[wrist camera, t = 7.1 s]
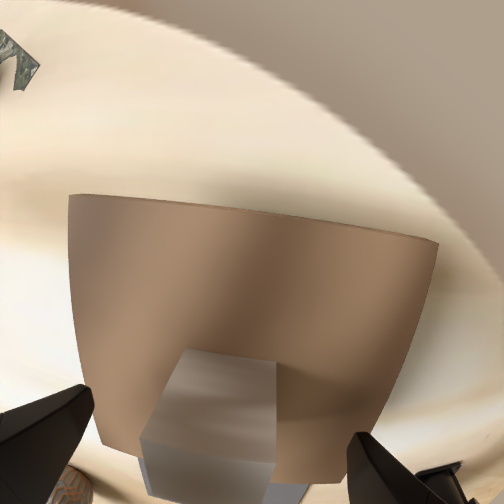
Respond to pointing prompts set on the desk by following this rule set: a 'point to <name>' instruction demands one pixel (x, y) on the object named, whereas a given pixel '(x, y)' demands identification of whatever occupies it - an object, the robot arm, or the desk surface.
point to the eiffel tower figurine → (4, 48)
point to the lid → (238, 338)
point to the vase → (72, 488)
